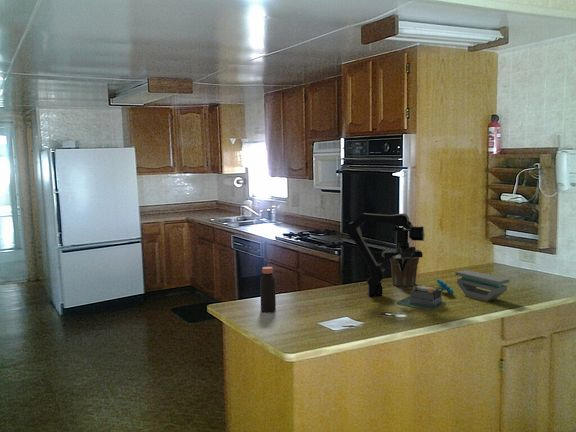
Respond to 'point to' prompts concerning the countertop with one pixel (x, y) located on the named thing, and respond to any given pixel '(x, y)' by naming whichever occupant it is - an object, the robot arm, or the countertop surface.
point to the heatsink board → (423, 299)
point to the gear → (444, 286)
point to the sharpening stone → (481, 285)
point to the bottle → (267, 290)
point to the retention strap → (425, 288)
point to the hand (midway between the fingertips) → (401, 271)
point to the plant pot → (404, 272)
